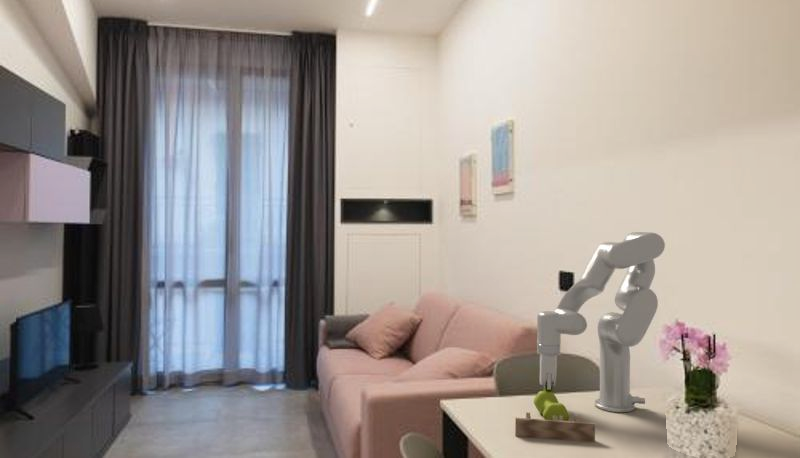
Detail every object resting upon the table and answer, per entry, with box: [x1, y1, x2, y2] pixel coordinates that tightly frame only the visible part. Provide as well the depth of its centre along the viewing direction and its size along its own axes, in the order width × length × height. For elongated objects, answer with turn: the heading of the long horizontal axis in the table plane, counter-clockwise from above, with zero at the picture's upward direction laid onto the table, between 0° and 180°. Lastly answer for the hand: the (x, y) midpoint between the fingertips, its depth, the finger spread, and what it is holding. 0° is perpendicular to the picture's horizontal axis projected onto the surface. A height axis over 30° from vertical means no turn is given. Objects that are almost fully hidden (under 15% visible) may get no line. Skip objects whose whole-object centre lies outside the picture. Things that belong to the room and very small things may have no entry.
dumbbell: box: [533, 390, 570, 421], centre depth 180 cm, size 16×8×7 cm, turn 179°
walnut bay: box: [514, 412, 596, 443], centre depth 170 cm, size 22×11×5 cm, turn 79°
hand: (548, 404), depth 191 cm, fingers closed
